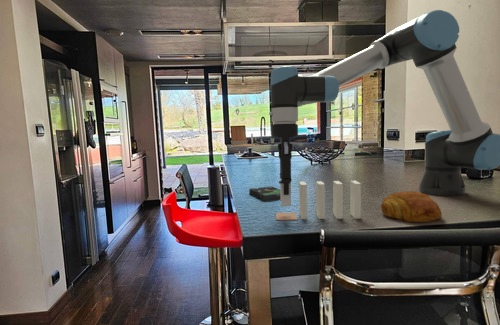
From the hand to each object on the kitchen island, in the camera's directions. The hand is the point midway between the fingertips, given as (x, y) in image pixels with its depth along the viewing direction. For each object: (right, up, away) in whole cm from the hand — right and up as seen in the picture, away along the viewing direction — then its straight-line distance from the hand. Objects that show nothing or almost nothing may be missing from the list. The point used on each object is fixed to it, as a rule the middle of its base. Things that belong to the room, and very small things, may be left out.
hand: (285, 203), depth 91 cm
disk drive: (-3, -2, +30) cm, 30 cm away
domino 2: (+10, -4, 0) cm, 11 cm away
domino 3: (+15, -4, 0) cm, 16 cm away
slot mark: (0, -4, 0) cm, 4 cm away
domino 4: (+20, -4, -1) cm, 21 cm away
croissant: (+36, -4, -2) cm, 36 cm away
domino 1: (+5, -4, 0) cm, 7 cm away
